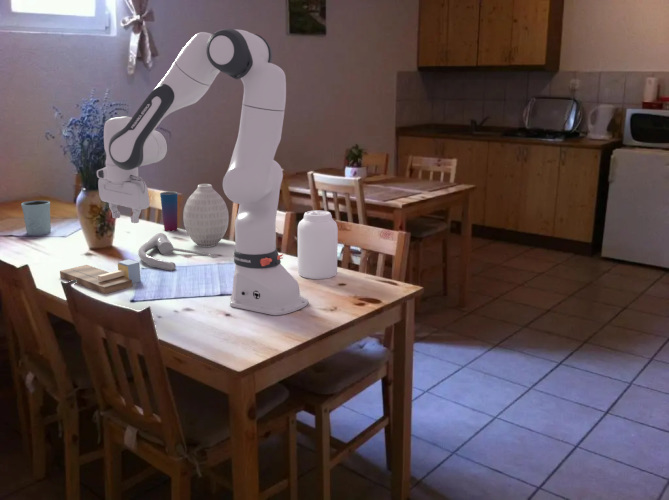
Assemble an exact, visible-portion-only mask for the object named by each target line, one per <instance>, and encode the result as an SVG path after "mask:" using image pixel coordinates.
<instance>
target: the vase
mask: <svg viewBox="0 0 669 500" xmlns="http://www.w3.org/2000/svg"><path fill="white" fill-rule="evenodd" d="M182 213H183V214H182V215H183V216H182V218H183V219H182V221H183V226H184V229H185V232H186V233H187V236H188V237H189V238H190V240H192V242H193V243H194V244H195V245H197V247H201V248H209V247H210V248H212V247H214V246H216V245H218V243H220V242H221V241H222V239H223V237H224V236H225V234H226V231H227V229H228V227H229V210H228V206H227V204H226V201H225V200H224V198H223V197H222V196H221V195H220V194H219V193H218V191H216V190H215V189H214V187H213V185H212V184H210V183H200V184H198V185H197V188H196V189H195V190H194V191H193V192H192V193H191V195H189V197H188V198H187V200H186V203H185V204H184V208H183V212H182Z"/></svg>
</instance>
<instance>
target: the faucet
mask: <svg viewBox="0 0 669 500" xmlns="http://www.w3.org/2000/svg"><path fill="white" fill-rule="evenodd" d="M154 249H158V251H159V253H160V254H162V255H172V254H173V252H174V251H175V252H181V253H188V254H194V255H201V256H205V257H207V256H208V257H210V258H211V259H216V258H220V256H218V255H216V254H213V253H208V252H201V251H195V250H190V249H183V248H177V247H174V245H173V244H172V242H171V241H170V240H169V238H168V237H167V235H166V234H165V233H163V232H159V233H157V234H155V235H153V236H152V237H151V238H150V239H149V240H148V241H147V242H145V243H144V244H142V245H141V246H140V247H139V249H138V251H137V253H138V257H139V259H140V260H141V261H142V262H143V263H145V264H147V265H149V266H151V267H154V268H157V269H160V270H165V271H174V270H176V269H177V267H176V263H175V262H173V261H170V262H169V261H166V260H165V261H164V260H161V259H158V258H156V257H153V256H150V255H148V252H149V251H150V250H154Z"/></svg>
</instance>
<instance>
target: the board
mask: <svg viewBox="0 0 669 500" xmlns="http://www.w3.org/2000/svg"><path fill="white" fill-rule="evenodd" d="M106 273H110V271H107V270H103V269H101V268H97V267H95V266H92V265H88V264H84V265H80V266H75V267H72V268H71V267H70V268H66V269H63V270H59V276H60V278H61V279H64V280H67V281H70V282H72V281H71V280H75V279H76V280H77V283H76V284H77V285H80V286H82V287H85V288H88V289H91V290H93V291H96V292H99V293H102V294H103V295H104V294H105V295H106V294H110V293H113V292H117V291H120V290H124V289H128V288H131V287H133V283H132V280H130V279H127V278H124V277H122V276H120V277H116V278H113V279H109V280H105V281H98V275H102V274H106Z"/></svg>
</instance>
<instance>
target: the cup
mask: <svg viewBox="0 0 669 500" xmlns="http://www.w3.org/2000/svg"><path fill="white" fill-rule="evenodd" d="M178 195H179V194H178V191H162V192H160V193H159V196H160V204H161V213H162V221H163V230H164V231H166V232H175V231H177V230H178V207H179V206H178V200H179V198H178Z"/></svg>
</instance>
